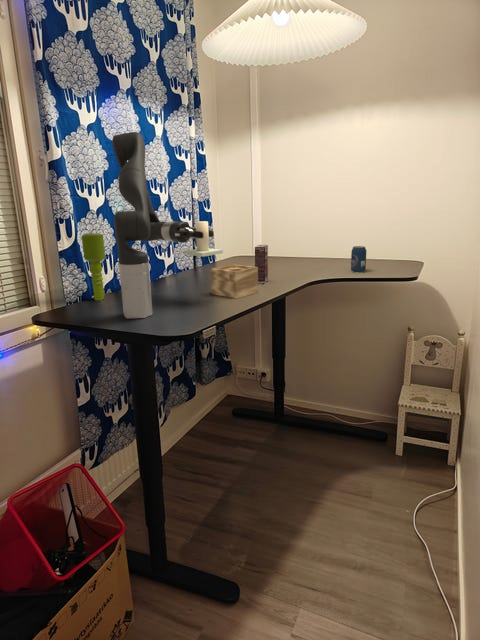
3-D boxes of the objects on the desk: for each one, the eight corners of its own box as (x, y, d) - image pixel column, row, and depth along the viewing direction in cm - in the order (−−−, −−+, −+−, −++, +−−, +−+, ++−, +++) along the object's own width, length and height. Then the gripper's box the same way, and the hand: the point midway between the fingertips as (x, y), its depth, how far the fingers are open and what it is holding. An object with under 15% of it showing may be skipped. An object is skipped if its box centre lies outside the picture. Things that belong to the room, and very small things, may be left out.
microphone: (103, 301, 167) (95, 234, 161) (85, 301, 169) (77, 234, 162) (113, 297, 175) (107, 232, 168) (96, 296, 177) (89, 232, 170)
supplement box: (265, 283, 193) (265, 246, 189) (254, 283, 194) (253, 246, 190) (268, 280, 201) (268, 244, 197) (257, 280, 202) (257, 244, 198)
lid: (222, 253, 161) (221, 221, 158) (202, 256, 154) (201, 223, 151) (203, 250, 168) (202, 220, 164) (183, 254, 160) (181, 222, 157)
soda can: (347, 271, 219) (348, 246, 215) (359, 270, 221) (360, 245, 218) (356, 273, 212) (357, 248, 209) (368, 272, 215) (369, 247, 212)
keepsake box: (258, 292, 177) (257, 267, 174) (235, 298, 168) (235, 271, 165) (233, 288, 185) (233, 264, 183) (211, 293, 176) (210, 268, 173)
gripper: (160, 223, 162) (192, 225, 151) (189, 220, 172) (221, 222, 161) (161, 243, 164) (193, 247, 153) (190, 240, 174) (222, 243, 163)
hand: (207, 234), depth 157 cm, fingers closed on lid, 4 cm apart
